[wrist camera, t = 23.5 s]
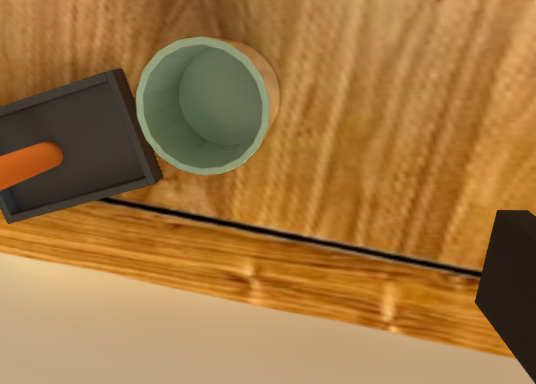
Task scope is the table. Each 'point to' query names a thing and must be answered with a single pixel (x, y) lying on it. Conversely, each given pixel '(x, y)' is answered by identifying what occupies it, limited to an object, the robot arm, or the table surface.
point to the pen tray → (77, 145)
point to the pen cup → (207, 103)
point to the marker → (28, 163)
